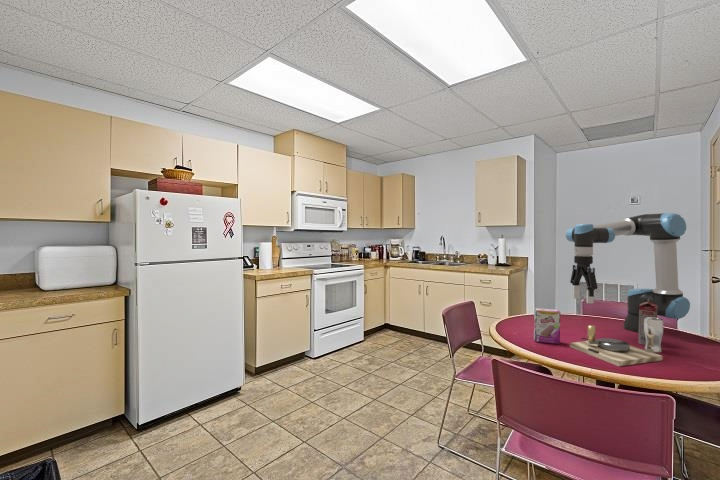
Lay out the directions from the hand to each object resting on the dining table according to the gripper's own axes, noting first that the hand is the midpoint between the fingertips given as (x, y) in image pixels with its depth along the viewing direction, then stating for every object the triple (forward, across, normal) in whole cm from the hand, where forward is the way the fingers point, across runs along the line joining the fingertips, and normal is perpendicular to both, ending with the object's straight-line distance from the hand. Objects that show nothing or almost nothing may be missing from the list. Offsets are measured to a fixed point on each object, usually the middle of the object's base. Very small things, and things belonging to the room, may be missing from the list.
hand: (582, 300), depth 165 cm
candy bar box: (+22, -4, -15) cm, 27 cm away
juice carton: (+22, -4, +34) cm, 40 cm away
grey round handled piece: (+20, +9, +5) cm, 22 cm away
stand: (+22, +11, +8) cm, 26 cm away
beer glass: (+22, +6, +28) cm, 36 cm away
